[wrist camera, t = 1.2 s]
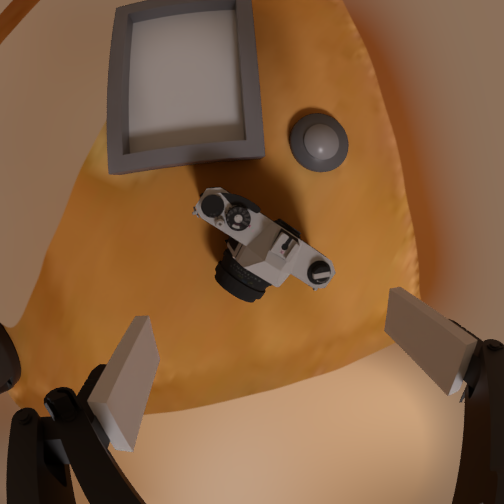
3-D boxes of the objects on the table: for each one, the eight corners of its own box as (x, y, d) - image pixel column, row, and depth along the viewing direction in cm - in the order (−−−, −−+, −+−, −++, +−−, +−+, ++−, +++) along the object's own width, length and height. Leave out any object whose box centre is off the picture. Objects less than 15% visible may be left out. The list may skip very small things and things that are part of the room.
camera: (171, 245, 27) (157, 279, 19) (209, 176, 26) (211, 179, 18) (278, 299, 31) (304, 345, 22) (316, 239, 30) (357, 268, 21)
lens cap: (290, 172, 27) (294, 172, 26) (286, 115, 26) (289, 111, 24) (345, 171, 28) (351, 171, 26) (341, 117, 26) (346, 114, 25)
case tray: (119, 174, 25) (108, 174, 22) (123, 20, 20) (116, 7, 17) (260, 158, 26) (265, 156, 23) (247, 4, 21) (250, -10, 19)
